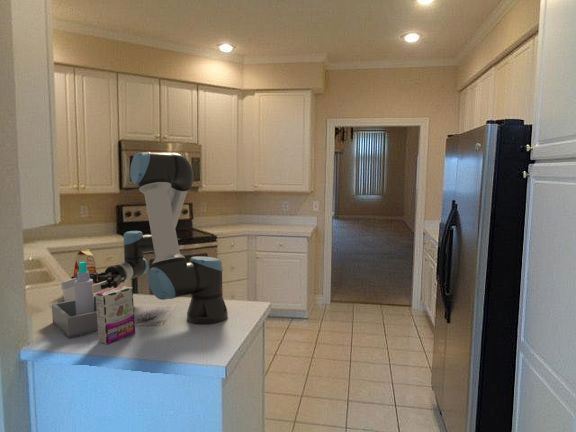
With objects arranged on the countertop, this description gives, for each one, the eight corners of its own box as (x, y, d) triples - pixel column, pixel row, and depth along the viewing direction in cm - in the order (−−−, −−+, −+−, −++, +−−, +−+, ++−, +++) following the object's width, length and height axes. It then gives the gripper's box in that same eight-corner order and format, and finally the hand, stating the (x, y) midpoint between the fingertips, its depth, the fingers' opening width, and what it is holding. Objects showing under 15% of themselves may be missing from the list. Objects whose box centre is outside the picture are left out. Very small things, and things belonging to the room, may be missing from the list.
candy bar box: (126, 331, 149) (124, 285, 147) (135, 334, 146) (133, 287, 144) (97, 342, 139) (94, 292, 137) (106, 345, 137) (104, 295, 135)
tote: (118, 326, 153) (117, 307, 152) (68, 338, 142) (67, 318, 141) (99, 312, 168) (98, 295, 167) (52, 322, 157) (51, 304, 156)
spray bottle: (97, 319, 158) (94, 260, 155) (91, 324, 152) (88, 264, 149) (80, 319, 157) (77, 260, 155) (73, 325, 151) (70, 264, 149)
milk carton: (88, 292, 196) (86, 249, 194) (70, 291, 197) (68, 248, 195) (100, 287, 204) (98, 246, 202) (83, 286, 206) (81, 245, 204)
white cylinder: (75, 297, 189) (74, 281, 188) (83, 299, 185) (83, 284, 184) (59, 300, 183) (58, 284, 182) (67, 303, 179) (67, 287, 178)
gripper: (145, 285, 167) (106, 301, 147) (93, 280, 175) (50, 294, 155) (144, 266, 167) (105, 279, 146) (92, 262, 174) (49, 274, 154)
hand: (77, 287), depth 151 cm, fingers open, 13 cm apart
